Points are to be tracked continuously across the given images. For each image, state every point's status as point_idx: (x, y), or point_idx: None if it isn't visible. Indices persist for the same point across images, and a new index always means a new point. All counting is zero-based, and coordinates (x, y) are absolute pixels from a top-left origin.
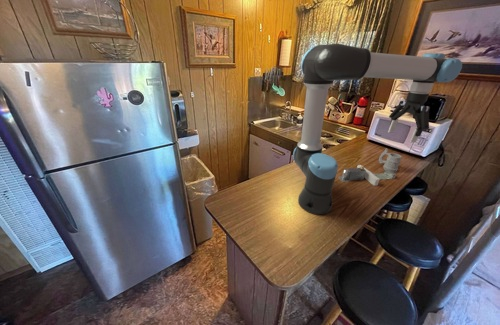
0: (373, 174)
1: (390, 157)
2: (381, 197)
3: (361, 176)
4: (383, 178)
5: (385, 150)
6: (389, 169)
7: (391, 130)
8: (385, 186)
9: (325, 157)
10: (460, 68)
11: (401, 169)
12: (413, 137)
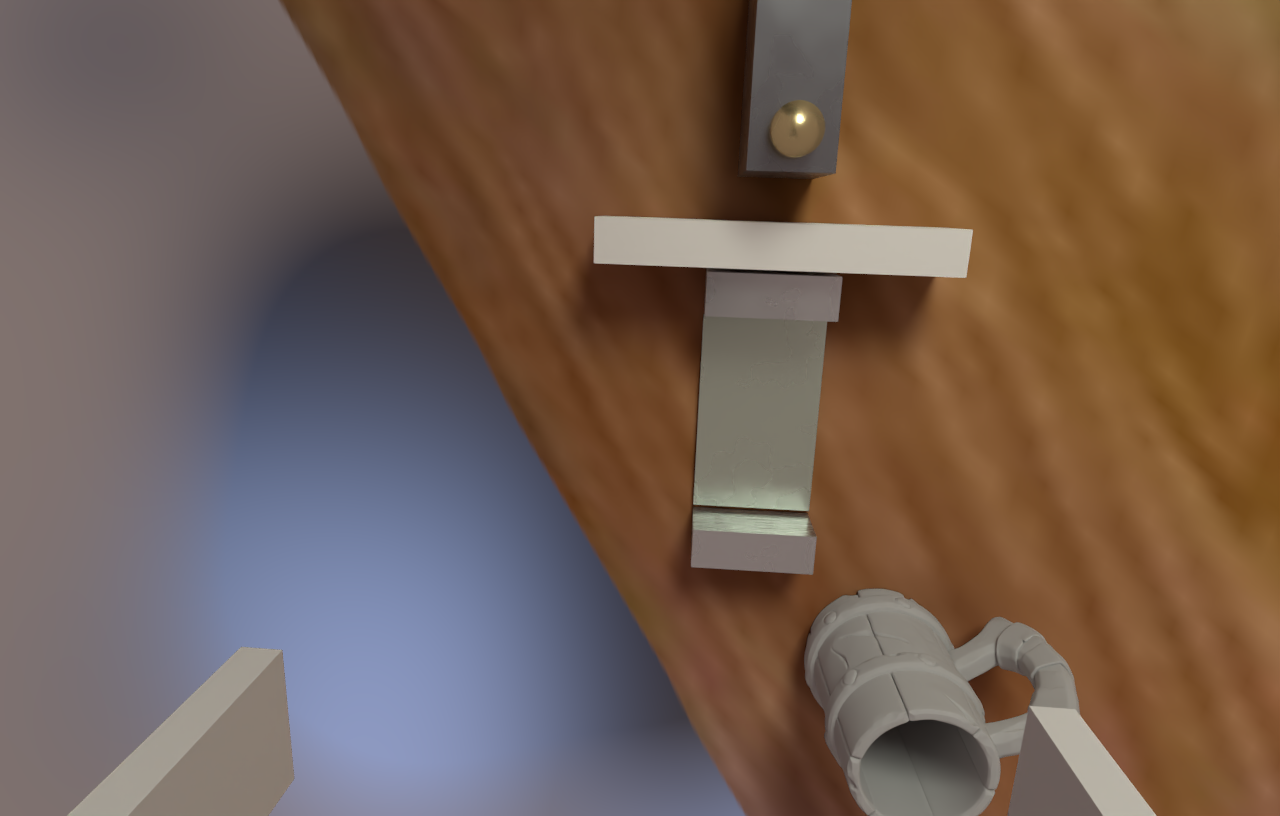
0: (736, 301)
1: (918, 692)
2: (405, 137)
3: (743, 132)
4: (710, 425)
5: None
6: (836, 610)
7: (1051, 812)
8: (576, 333)
9: None
10: None
11: None
12: (144, 757)
